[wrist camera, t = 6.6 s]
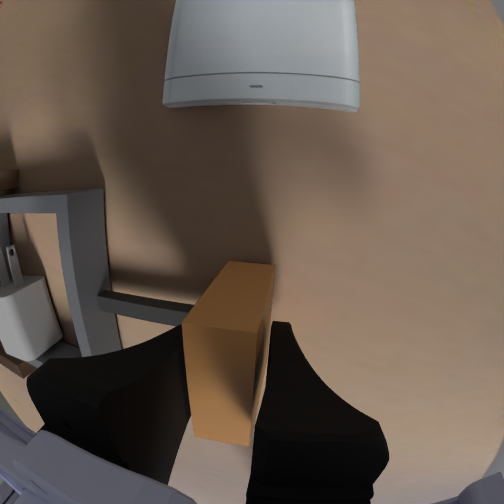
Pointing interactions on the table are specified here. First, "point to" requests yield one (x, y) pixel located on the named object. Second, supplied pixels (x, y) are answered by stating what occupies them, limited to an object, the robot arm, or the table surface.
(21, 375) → the wooden tray
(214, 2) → the hard drive
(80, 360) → the robot arm
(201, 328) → the carrier
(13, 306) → the usb wall charger
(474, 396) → the table surface
